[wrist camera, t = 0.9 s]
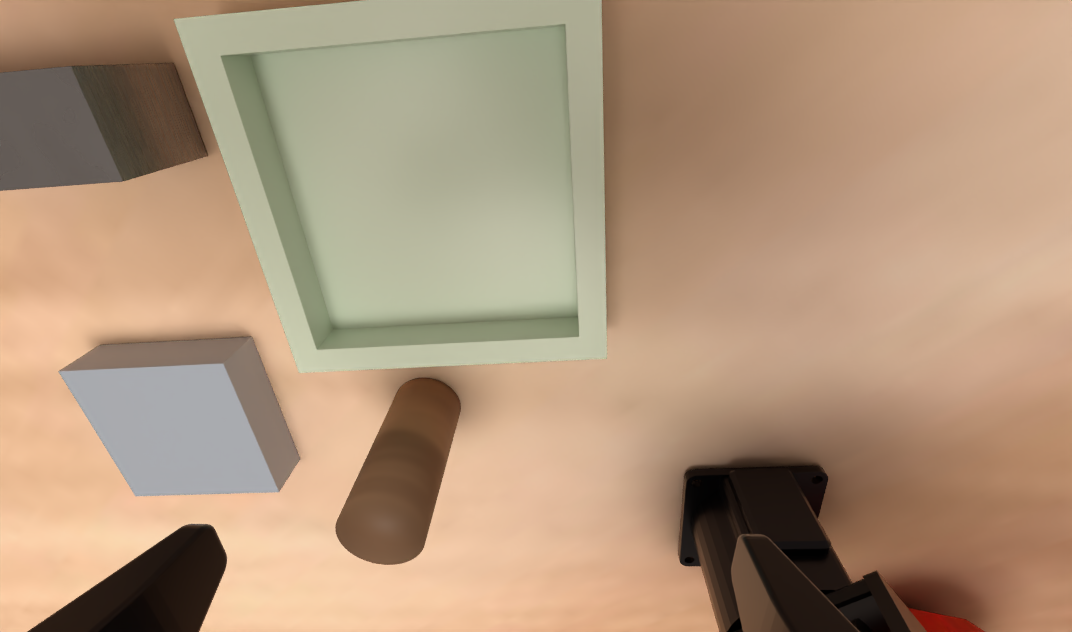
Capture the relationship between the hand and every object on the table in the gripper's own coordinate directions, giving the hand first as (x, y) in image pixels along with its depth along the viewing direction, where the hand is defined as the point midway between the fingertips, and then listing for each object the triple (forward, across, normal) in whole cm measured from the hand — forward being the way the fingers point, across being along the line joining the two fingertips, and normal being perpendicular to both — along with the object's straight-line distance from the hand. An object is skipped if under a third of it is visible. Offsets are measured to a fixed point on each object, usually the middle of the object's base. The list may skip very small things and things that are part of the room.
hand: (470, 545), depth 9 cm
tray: (+12, +3, -3) cm, 13 cm away
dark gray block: (+12, +16, -6) cm, 21 cm away
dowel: (+13, +5, +7) cm, 15 cm away
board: (+13, +15, +7) cm, 21 cm away
